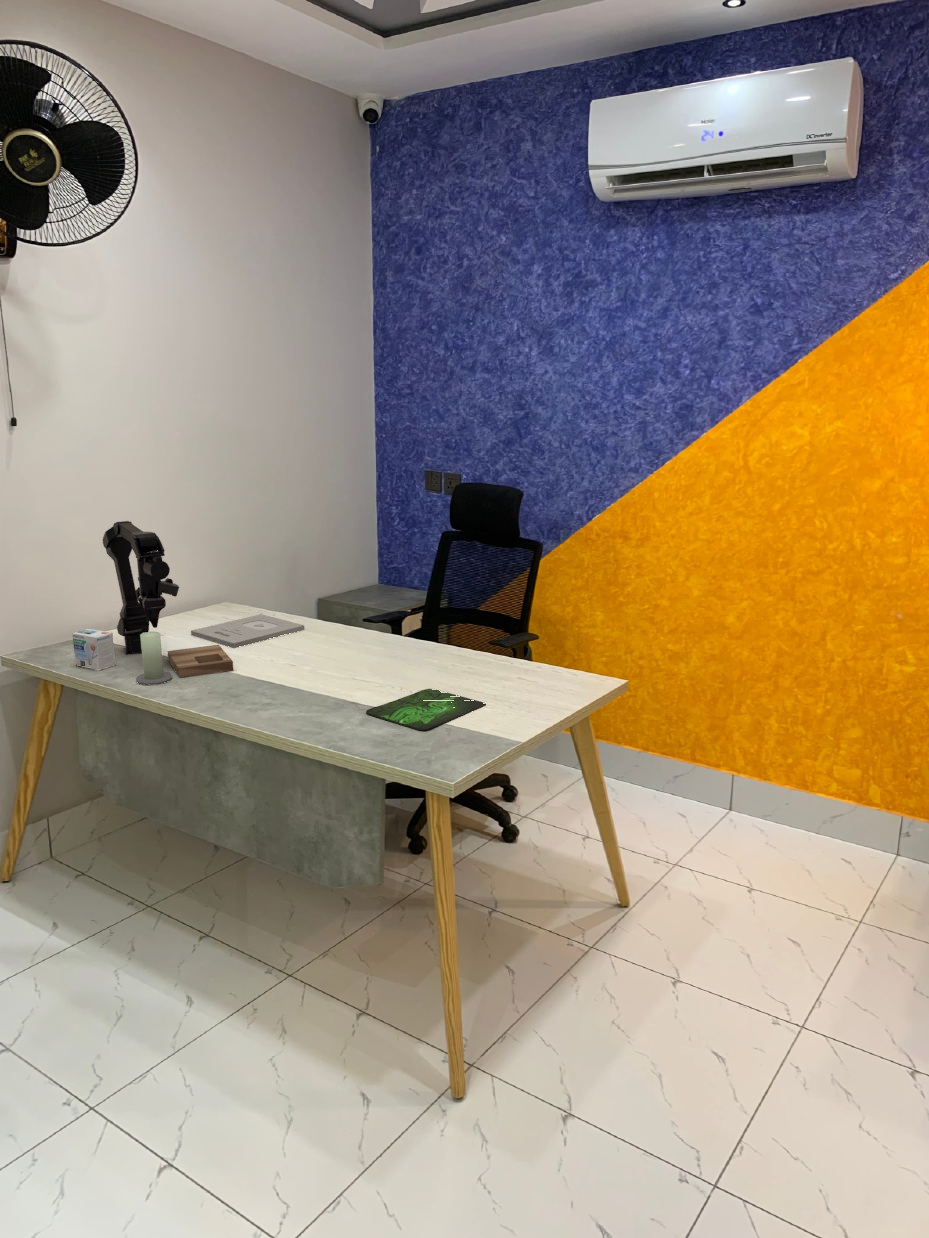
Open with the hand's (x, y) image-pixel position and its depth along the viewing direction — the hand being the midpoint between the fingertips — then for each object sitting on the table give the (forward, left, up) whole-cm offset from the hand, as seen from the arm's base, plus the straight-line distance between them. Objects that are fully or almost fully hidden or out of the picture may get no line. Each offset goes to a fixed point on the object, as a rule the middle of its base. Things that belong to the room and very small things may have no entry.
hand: (152, 624), depth 282 cm
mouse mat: (+74, +59, -14) cm, 96 cm away
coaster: (+15, -3, -13) cm, 20 cm away
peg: (+15, -3, -12) cm, 20 cm away
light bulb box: (-7, -17, -13) cm, 23 cm away
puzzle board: (+7, +12, -13) cm, 19 cm away
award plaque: (-24, +35, -14) cm, 44 cm away
